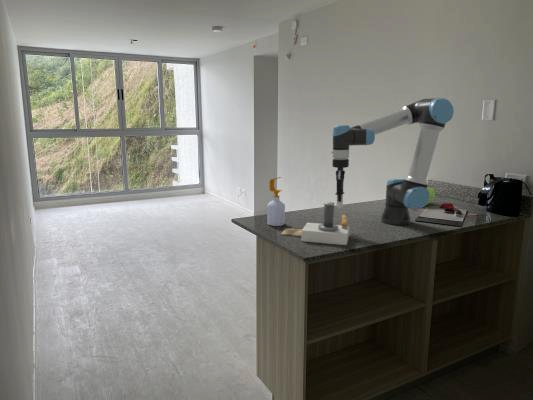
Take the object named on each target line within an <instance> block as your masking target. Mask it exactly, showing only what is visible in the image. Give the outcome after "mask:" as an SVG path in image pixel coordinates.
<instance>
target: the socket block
mask: <svg viewBox="0 0 533 400" xmlns="http://www.w3.org/2000/svg"><path fill="white" fill-rule="evenodd" d="M319 224H320V223H318V222H317V223H316V222H306V224H305V225H304V226H303V228H302V237H301V236H300V237H301V238H300V239H301V242H308V243H317V244H318V243H319V244H320V243H321V244H328V245H329V244H330V245H331V244H332V245H338V246H339V245H340V246H344V245H345V246H347V245H348V241H349V239H350V238H349V237H350V225H348V224H347V225H342V224H336V225H337V226H338V230H335V231H324V230H320V229H318V225H319Z"/></svg>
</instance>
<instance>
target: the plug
mask: <svg viewBox="0 0 533 400" xmlns="http://www.w3.org/2000/svg"><path fill="white" fill-rule="evenodd" d="M334 213H335V202H333V201H325V202H323V223H318V224H319V225H318V229H320V230H324V231H335V230H338V226H337V225H338V224H335V223H334Z"/></svg>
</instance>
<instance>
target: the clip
mask: <svg viewBox="0 0 533 400" xmlns="http://www.w3.org/2000/svg"><path fill="white" fill-rule="evenodd" d="M341 215H342V216H341V220H342V221H341V225H347V226H348V221H347V217H346V214H341Z"/></svg>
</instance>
